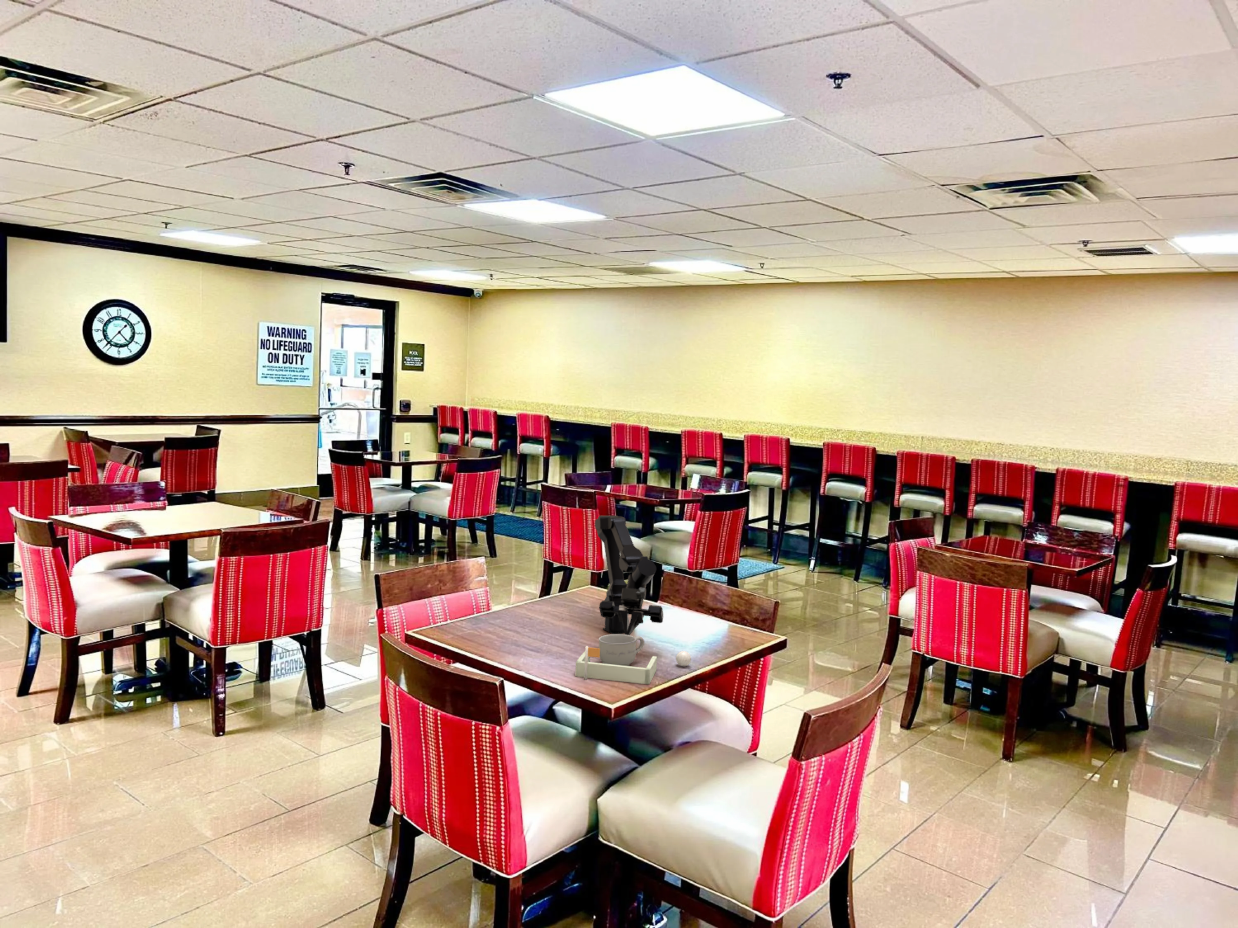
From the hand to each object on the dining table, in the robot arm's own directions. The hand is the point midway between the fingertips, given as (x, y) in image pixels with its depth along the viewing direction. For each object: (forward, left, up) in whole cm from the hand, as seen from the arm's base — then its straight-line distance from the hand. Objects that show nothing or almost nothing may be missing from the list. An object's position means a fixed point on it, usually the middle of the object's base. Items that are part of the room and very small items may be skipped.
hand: (626, 636), depth 255 cm
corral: (+10, +10, -6) cm, 16 cm away
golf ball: (-11, +13, -4) cm, 18 cm away
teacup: (+4, +4, -7) cm, 9 cm away
